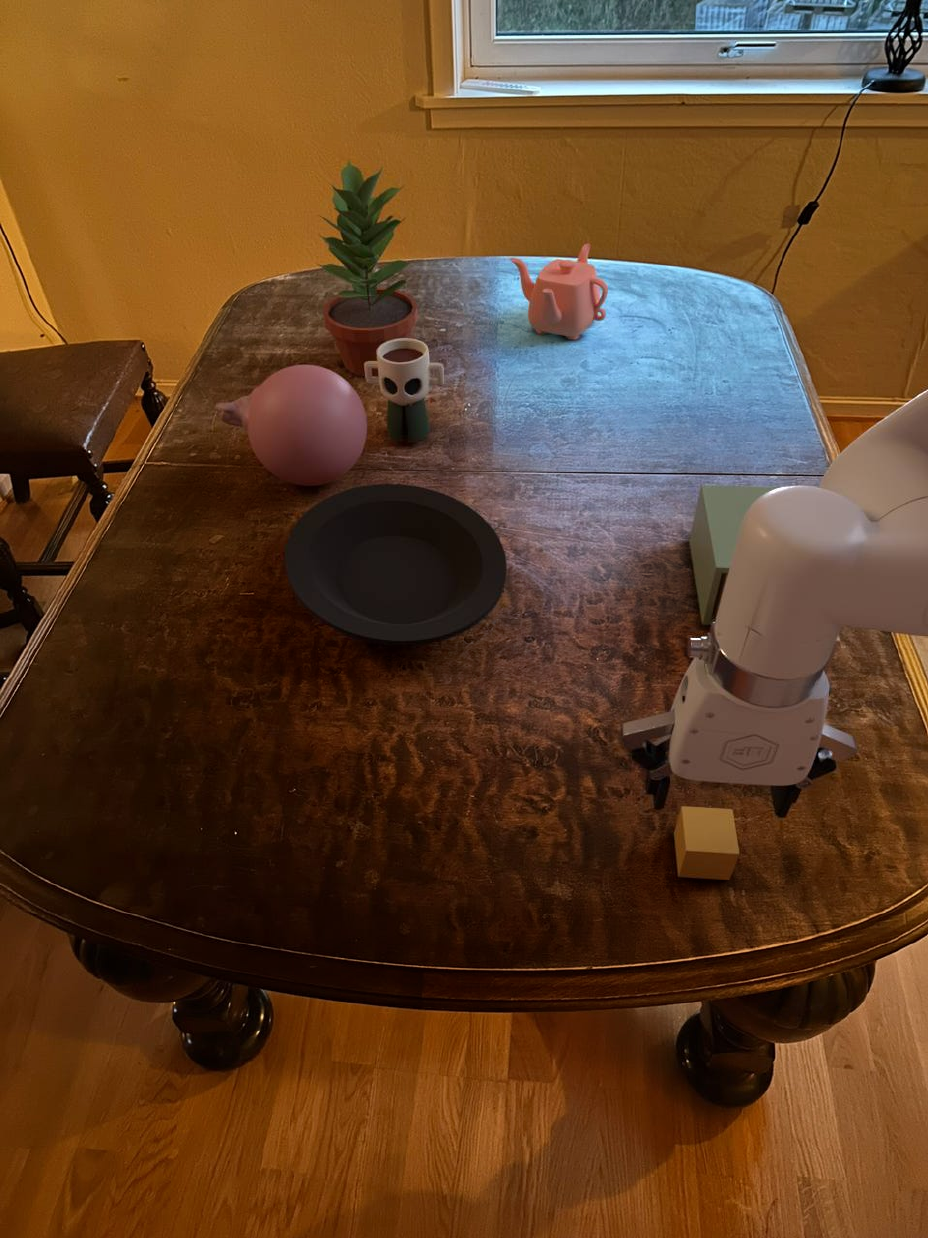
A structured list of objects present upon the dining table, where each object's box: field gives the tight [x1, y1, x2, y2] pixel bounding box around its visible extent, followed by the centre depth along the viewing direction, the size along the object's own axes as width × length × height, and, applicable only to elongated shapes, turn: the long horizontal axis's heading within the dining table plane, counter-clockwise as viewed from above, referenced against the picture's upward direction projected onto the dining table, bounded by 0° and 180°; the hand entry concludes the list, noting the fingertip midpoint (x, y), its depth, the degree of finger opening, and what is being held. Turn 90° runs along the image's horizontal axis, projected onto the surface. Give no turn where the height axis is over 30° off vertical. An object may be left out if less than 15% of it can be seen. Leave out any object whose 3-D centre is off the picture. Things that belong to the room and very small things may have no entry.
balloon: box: [214, 364, 368, 487], centre depth 115 cm, size 15×20×15 cm
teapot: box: [509, 242, 609, 340], centre depth 145 cm, size 14×14×11 cm
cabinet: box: [689, 484, 783, 626], centre depth 100 cm, size 15×12×9 cm
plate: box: [284, 483, 508, 647], centre depth 102 cm, size 28×24×6 cm
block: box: [673, 805, 740, 881], centre depth 77 cm, size 4×4×4 cm
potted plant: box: [316, 158, 419, 377], centre depth 131 cm, size 15×15×30 cm
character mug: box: [364, 338, 445, 443], centre depth 122 cm, size 11×7×13 cm, turn 85°
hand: (716, 798), depth 72 cm, fingers open, 9 cm apart
